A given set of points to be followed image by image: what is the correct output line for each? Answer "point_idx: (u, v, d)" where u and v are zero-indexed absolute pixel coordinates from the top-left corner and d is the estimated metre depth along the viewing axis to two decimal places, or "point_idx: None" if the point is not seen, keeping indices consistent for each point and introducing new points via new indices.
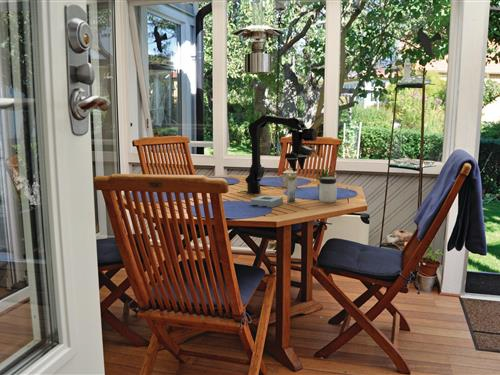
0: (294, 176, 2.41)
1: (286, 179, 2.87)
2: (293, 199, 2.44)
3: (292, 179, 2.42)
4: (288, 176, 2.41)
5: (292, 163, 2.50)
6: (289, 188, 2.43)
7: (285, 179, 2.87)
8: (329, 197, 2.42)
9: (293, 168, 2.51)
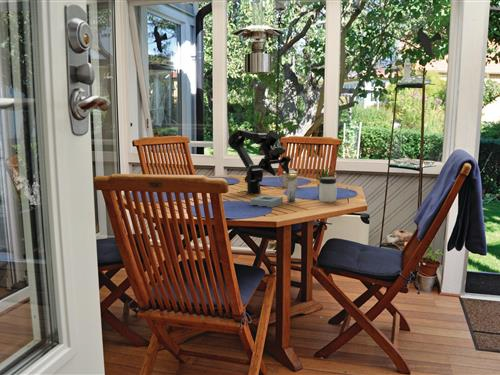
0: (294, 176, 2.41)
1: (286, 179, 2.87)
2: (293, 199, 2.44)
3: (292, 179, 2.42)
4: (288, 176, 2.41)
5: (269, 169, 2.49)
6: (289, 188, 2.43)
7: (285, 179, 2.87)
8: (329, 197, 2.42)
9: (272, 172, 2.48)
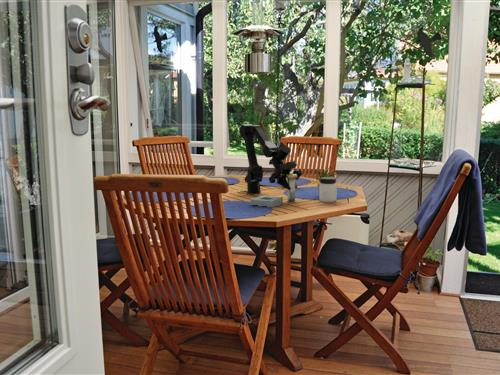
0: (294, 176, 2.41)
1: (286, 179, 2.87)
2: (293, 199, 2.44)
3: (292, 179, 2.42)
4: (288, 176, 2.41)
5: (283, 183, 2.44)
6: None
7: None
8: (329, 197, 2.42)
9: (287, 187, 2.43)
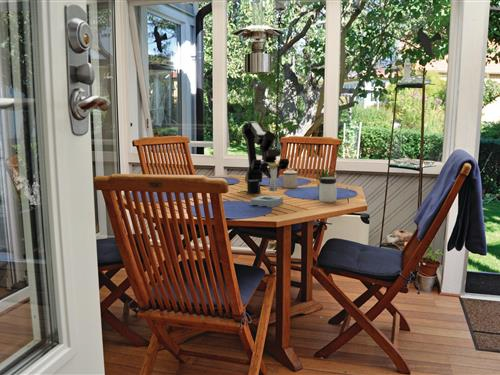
0: (274, 164, 2.34)
1: (286, 179, 2.87)
2: (273, 188, 2.37)
3: (272, 167, 2.35)
4: (268, 164, 2.35)
5: (265, 171, 2.39)
6: (270, 176, 2.37)
7: (285, 179, 2.87)
8: (329, 197, 2.42)
9: (267, 175, 2.37)
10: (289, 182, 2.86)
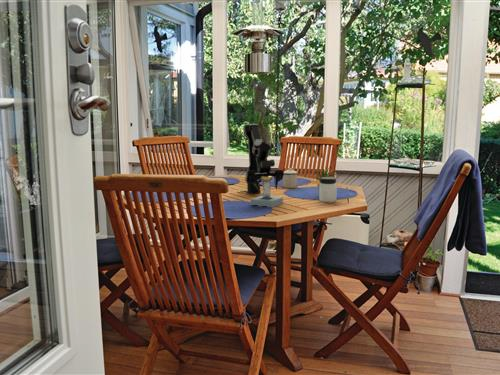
0: (266, 178, 2.35)
1: (286, 179, 2.87)
2: None
3: (265, 181, 2.36)
4: (261, 178, 2.36)
5: (254, 182, 2.38)
6: (263, 190, 2.38)
7: (285, 179, 2.87)
8: (329, 197, 2.42)
9: (256, 186, 2.37)
10: (289, 182, 2.86)
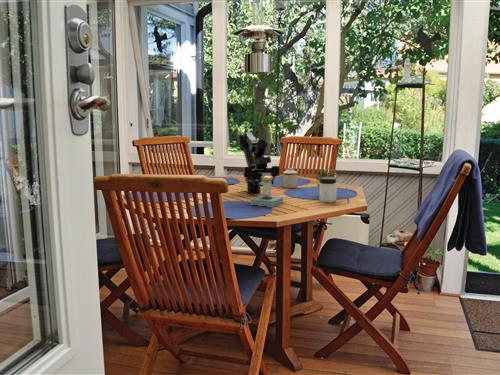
0: (267, 178, 2.34)
1: (286, 179, 2.87)
2: None
3: (265, 181, 2.35)
4: (261, 178, 2.36)
5: (251, 178, 2.49)
6: (263, 190, 2.37)
7: (285, 179, 2.87)
8: (329, 197, 2.42)
9: (253, 182, 2.47)
10: (289, 182, 2.86)
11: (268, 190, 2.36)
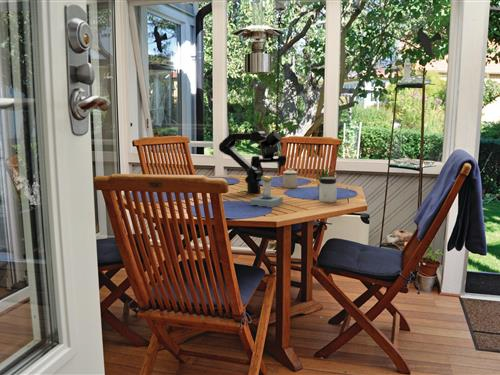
0: (267, 178, 2.34)
1: (286, 179, 2.87)
2: None
3: (265, 181, 2.36)
4: (261, 178, 2.36)
5: (259, 167, 2.54)
6: (263, 190, 2.37)
7: (285, 179, 2.87)
8: (329, 197, 2.42)
9: (260, 171, 2.52)
10: (289, 182, 2.86)
11: (268, 190, 2.36)
